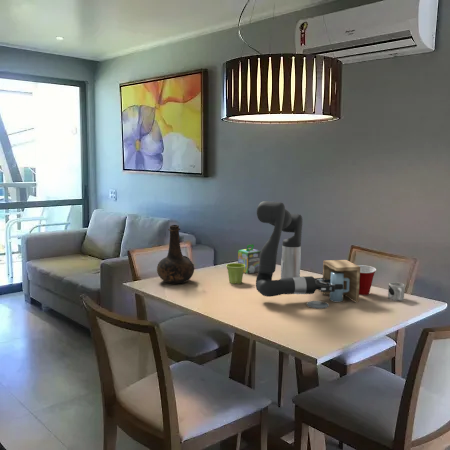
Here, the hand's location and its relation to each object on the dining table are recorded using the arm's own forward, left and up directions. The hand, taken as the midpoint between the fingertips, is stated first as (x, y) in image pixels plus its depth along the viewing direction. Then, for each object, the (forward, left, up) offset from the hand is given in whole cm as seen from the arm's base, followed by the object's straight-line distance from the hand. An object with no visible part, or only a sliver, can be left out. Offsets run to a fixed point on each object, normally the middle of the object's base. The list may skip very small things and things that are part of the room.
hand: (338, 284), depth 215 cm
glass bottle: (-73, +28, -7) cm, 79 cm away
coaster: (-10, -8, -7) cm, 15 cm away
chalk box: (-36, +52, -7) cm, 63 cm away
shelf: (+2, +3, -7) cm, 8 cm away
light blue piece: (+1, 0, -7) cm, 7 cm away
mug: (+26, +1, -7) cm, 27 cm away
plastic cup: (+14, +10, -7) cm, 19 cm away
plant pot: (-44, +28, -7) cm, 52 cm away
